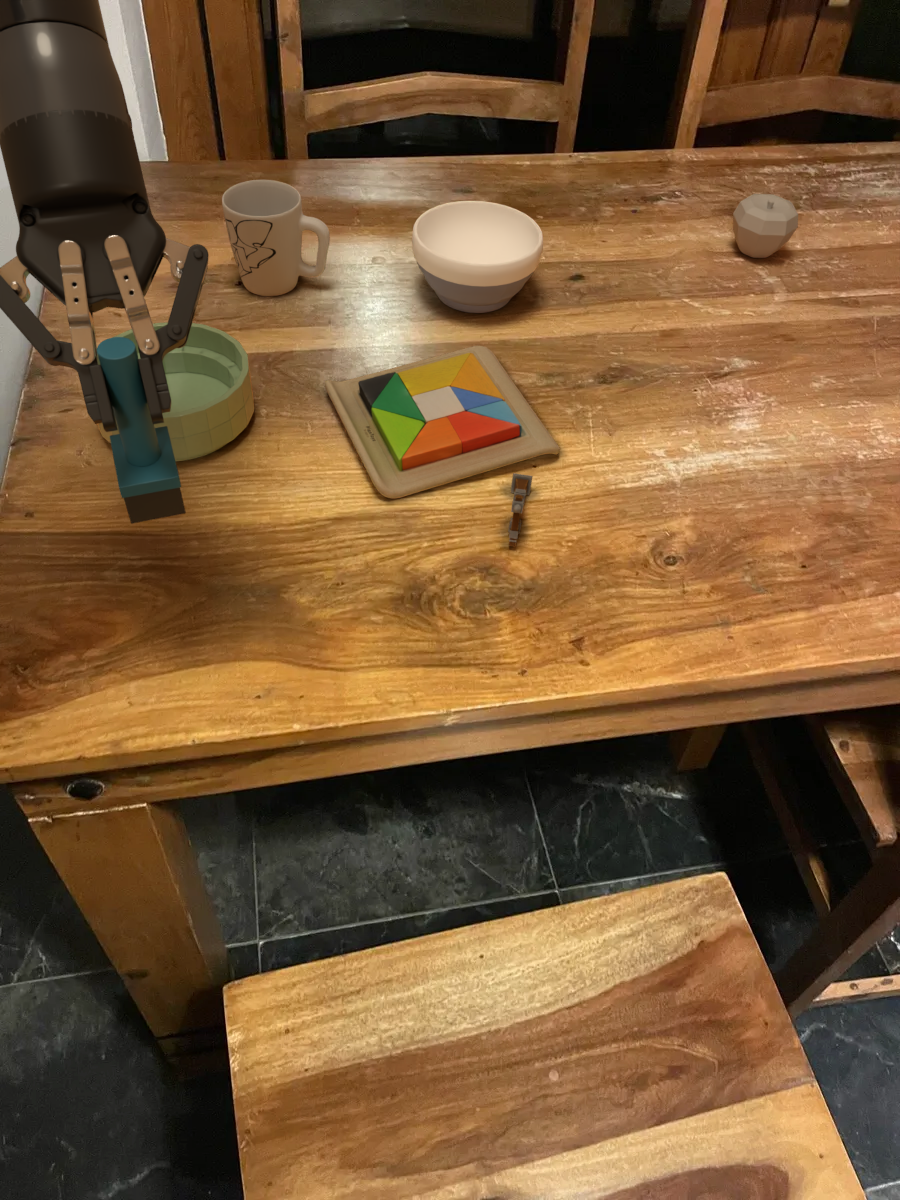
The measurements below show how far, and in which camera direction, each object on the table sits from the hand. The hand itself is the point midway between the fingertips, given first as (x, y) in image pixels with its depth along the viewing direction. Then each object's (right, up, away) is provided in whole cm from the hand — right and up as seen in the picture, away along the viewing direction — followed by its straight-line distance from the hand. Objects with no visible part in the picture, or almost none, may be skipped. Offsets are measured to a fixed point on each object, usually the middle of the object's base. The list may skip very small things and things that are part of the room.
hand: (134, 424), depth 57 cm
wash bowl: (-7, +7, +34) cm, 36 cm away
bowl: (+22, +25, +51) cm, 61 cm away
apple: (+58, +33, +61) cm, 90 cm away
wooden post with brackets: (+25, -3, +28) cm, 38 cm away
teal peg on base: (-1, -3, +7) cm, 8 cm away
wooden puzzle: (+18, +6, +35) cm, 40 cm away
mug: (0, +26, +51) cm, 57 cm away
